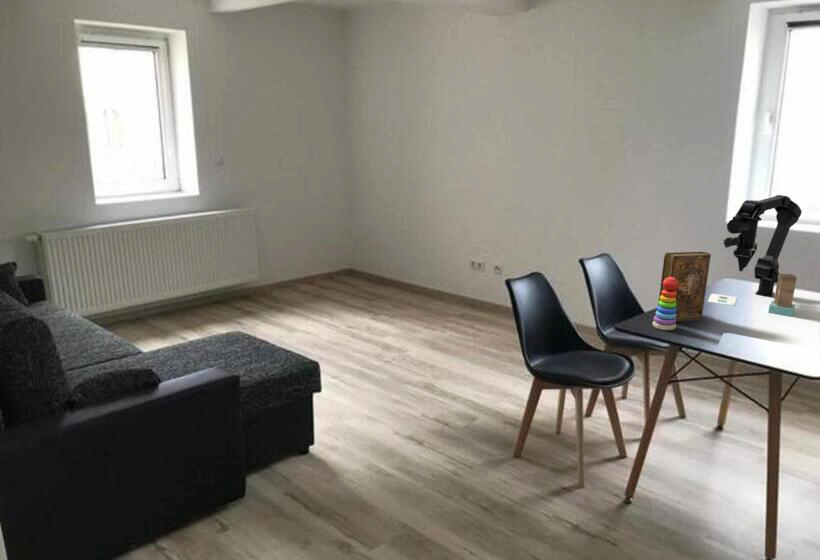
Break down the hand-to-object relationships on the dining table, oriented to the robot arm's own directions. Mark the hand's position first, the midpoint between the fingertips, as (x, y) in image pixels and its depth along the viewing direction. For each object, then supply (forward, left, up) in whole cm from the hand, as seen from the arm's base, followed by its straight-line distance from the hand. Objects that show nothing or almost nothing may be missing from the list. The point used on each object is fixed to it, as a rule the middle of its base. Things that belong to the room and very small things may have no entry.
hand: (742, 269), depth 269 cm
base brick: (+9, +17, -13) cm, 23 cm away
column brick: (+9, +17, -10) cm, 22 cm away
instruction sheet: (+5, -5, -13) cm, 15 cm away
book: (+42, -13, -13) cm, 46 cm away
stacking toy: (+57, -15, -13) cm, 60 cm away
